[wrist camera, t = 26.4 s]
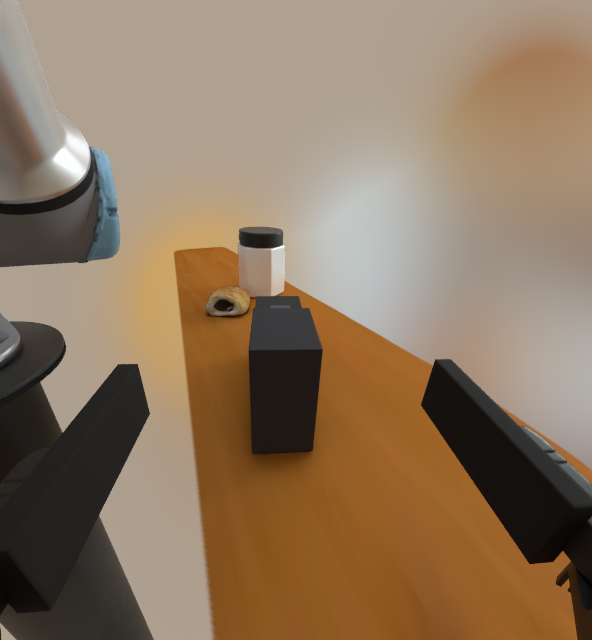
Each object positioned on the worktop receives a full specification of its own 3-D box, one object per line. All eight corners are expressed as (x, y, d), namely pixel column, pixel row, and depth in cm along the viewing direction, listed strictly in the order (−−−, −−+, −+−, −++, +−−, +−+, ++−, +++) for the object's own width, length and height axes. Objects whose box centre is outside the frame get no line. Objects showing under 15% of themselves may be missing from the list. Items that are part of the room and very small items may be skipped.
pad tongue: (312, 451, 24) (322, 349, 19) (252, 454, 23) (248, 350, 19) (300, 377, 33) (305, 296, 28) (256, 377, 32) (254, 295, 28)
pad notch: (301, 387, 31) (305, 322, 27) (255, 389, 30) (253, 322, 27) (296, 353, 37) (298, 296, 34) (257, 353, 37) (256, 295, 33)
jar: (259, 281, 63) (258, 225, 57) (290, 289, 59) (292, 229, 54) (231, 292, 56) (227, 229, 50) (264, 302, 52) (264, 235, 47)
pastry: (221, 295, 54) (220, 276, 52) (256, 298, 54) (256, 279, 52) (204, 316, 46) (201, 294, 44) (245, 319, 45) (244, 297, 44)
